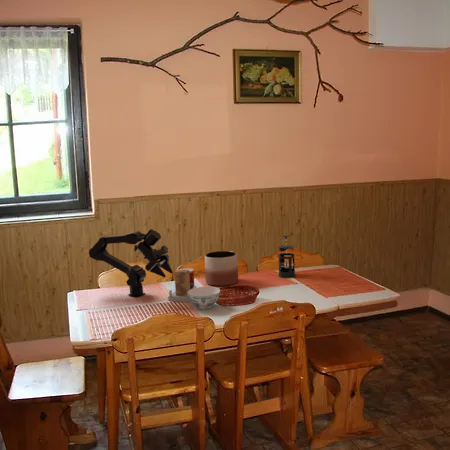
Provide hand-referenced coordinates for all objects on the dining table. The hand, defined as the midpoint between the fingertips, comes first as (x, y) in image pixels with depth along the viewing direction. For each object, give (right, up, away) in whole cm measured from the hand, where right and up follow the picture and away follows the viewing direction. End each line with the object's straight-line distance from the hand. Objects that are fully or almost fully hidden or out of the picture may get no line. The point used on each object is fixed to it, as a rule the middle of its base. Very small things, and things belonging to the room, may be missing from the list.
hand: (168, 274), depth 277 cm
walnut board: (+7, -10, 0) cm, 12 cm away
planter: (+27, -7, +25) cm, 37 cm away
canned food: (+8, -10, +13) cm, 18 cm away
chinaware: (+19, -14, -15) cm, 28 cm away
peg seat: (+7, -12, 0) cm, 14 cm away
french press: (+63, -4, +33) cm, 71 cm away
